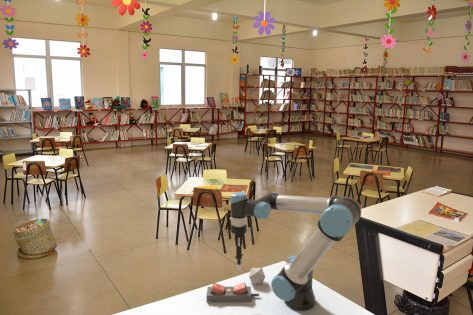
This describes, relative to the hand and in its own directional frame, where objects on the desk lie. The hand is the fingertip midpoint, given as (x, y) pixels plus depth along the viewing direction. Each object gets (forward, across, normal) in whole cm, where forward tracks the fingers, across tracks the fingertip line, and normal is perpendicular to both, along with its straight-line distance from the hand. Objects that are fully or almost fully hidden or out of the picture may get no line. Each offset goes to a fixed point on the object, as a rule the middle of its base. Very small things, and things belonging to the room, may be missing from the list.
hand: (238, 269), depth 184 cm
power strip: (+15, 0, -3) cm, 16 cm away
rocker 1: (+12, 0, -11) cm, 16 cm away
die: (+16, -13, +10) cm, 23 cm away
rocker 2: (+12, 0, +1) cm, 12 cm away
